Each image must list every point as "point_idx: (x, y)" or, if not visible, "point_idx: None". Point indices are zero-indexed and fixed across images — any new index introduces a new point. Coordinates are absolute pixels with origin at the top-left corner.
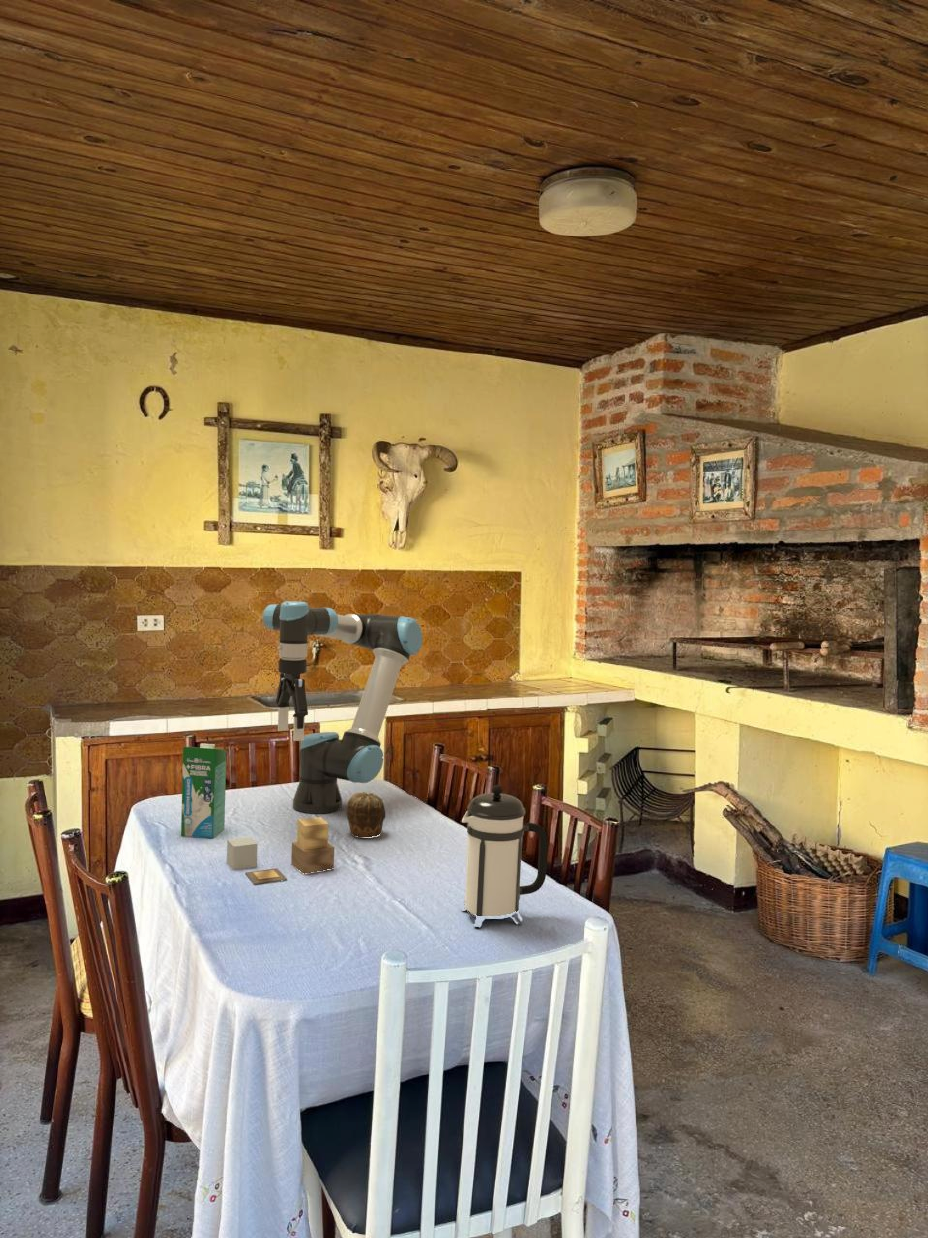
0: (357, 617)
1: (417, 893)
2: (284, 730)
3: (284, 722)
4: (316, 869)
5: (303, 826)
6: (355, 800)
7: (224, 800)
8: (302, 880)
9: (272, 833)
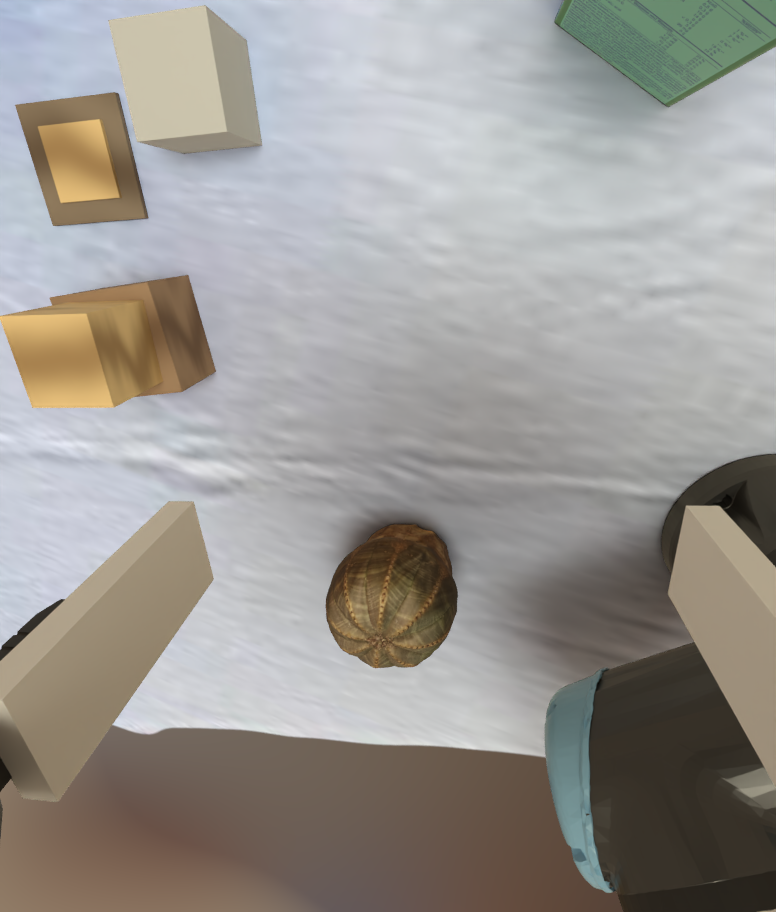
0: None
1: None
2: (675, 565)
3: (717, 628)
4: None
5: (22, 314)
6: (362, 594)
7: (721, 63)
8: (59, 272)
9: (523, 299)
